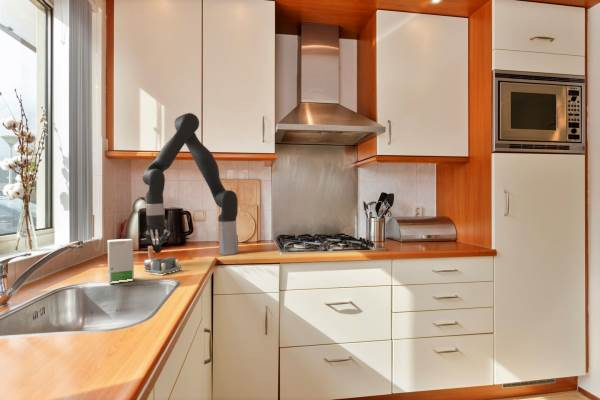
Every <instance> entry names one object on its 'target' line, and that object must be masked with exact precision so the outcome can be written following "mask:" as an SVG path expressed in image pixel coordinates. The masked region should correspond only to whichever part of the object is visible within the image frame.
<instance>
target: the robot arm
mask: <svg viewBox="0 0 600 400" xmlns="http://www.w3.org/2000/svg"><path fill="white" fill-rule="evenodd" d="M199 127H200V120H199V117H198V116H197V115H195V114H194V113H191V112H187V113H184V114H181V115H179V116H178V117H176V118H175V119H174V128H175V131H176V132H175V133H174V135H173V136H171V138H169V140H168V141H167V142H166V143H165V144H164V145H163V147H162V148H161V149H160V151H159V152H158V154H157V156H156V157H155V159H154V160H153V162H151V163H150V164H149V165H148V167H147V168H146V169H145V170H144V171H143V175H142V181H143V183H144V184H145V185H147V186H148V191H147V192H146V194H145V202H146V208H145V210H146V213H145V214H146V225H147V229H146V231H144V232H143V233H142V235H143V237H144V238H145V239H146V240H147V242H148V243H149V244H152V246H153V253H156V254H160V253H161V252H162V245H163V243H165V242H167V240H168V238H169V236H170V235H171V233H172V232H171V231H170V230H169V231H168V230H167V227H166V215H165V214H166V213H165V212H166V211H165V205H164V191H165V185H166V183H165V182H166V177H165V173H164V172H165V171H167V170H169V169H170V167H171V166H172V164H173V162H174V161H175V159H176V157H177V156H178V154H179V153H180V151H182V149H183V147H184V145H185V146H186V147H187V149H188V151H189V153H190V155H191V157H192V159H193V160H194V162H195V165H196V166H197V168H198V170H199V172H200V173H201V175H202V177H203V179H204V181H205V183H206V185H207V186H208V189H209V190H210V192H211V195H212V198H213V200H214V203H215V204H216V205H217V206H218V207H219V208H221V211H220V214H219V215H218V216H217V217H218V218H217V221H218V225H217V226H218V245H219V247H218V248H219V249H218V250H219V251H218V252H219V255H221V256H230V255H231V256H232V255H236V254H238V253H239V235H238V233H237V217H238V212H239V210H238V206H239V205H238V204H239V202H238V196H237V194H236V192H235V191H233V190H231V189H230V190H226V189H225V187H224V185H223V183H222V180H221V177H220V170H219V166H218V163H217V161H216V159H215V157H214V155H213V153H212V151H210V150H209V149H208V148H207V147H206V146H205V145H204V144H203V143H202V142H201V141H200V139H199V138H198V137H197V134H196V131H197V130H198V129H199Z"/></svg>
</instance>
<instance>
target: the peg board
mask: <svg viewBox="0 0 600 400" xmlns="http://www.w3.org/2000/svg"><path fill="white" fill-rule="evenodd" d="M175 260H176V267H174V268H170V269H166V270H165V263H162V264H161V266H162V271H154V263H153V262H151V270H149V271H148V273H149V272H150V273H158V274H164V273H169V272H173V271H176V270H180V269H181V270H182V266H180V259H175ZM181 270H180V271H181ZM173 273H174V272H173ZM169 274H170V273H169Z"/></svg>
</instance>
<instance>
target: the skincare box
mask: <svg viewBox="0 0 600 400" xmlns="http://www.w3.org/2000/svg"><path fill="white" fill-rule="evenodd" d="M106 242H107V281H108V280H109V282H112V281H119V280H127V279H134V280H135V277H134V276H135V272H134V269H135V268H134V240H133V239H132V238H125V239H124V238H120V239H119V238H118V239H108V240H107V241H106ZM109 282H108V283H109Z"/></svg>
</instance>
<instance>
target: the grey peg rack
mask: <svg viewBox="0 0 600 400" xmlns="http://www.w3.org/2000/svg"><path fill="white" fill-rule="evenodd" d="M147 252H148V253H147V255H148V258H144V260H143V262H144V263H143V265H144V267H145V266H151V262H153V261H154V260H158V259H160V258H159V257H156V258H154V246H153V245H147Z"/></svg>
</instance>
